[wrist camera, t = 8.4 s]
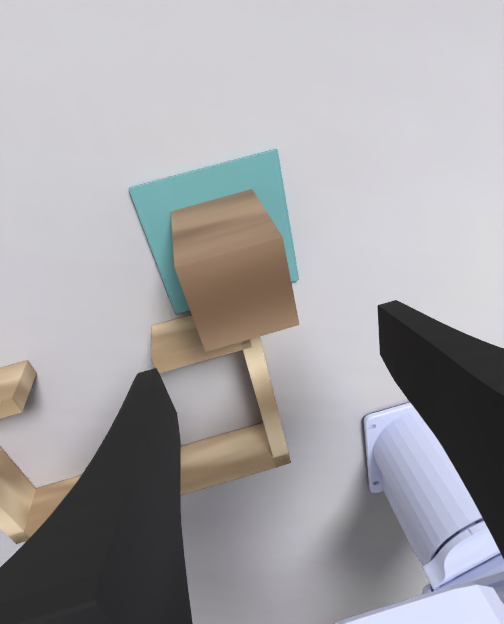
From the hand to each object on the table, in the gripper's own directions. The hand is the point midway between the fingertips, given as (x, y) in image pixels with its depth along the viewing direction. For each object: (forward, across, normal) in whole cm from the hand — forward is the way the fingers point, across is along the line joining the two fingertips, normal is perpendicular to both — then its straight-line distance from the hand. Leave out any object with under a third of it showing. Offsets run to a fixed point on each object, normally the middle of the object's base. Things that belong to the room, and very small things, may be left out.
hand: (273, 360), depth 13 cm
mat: (+10, 0, 0) cm, 10 cm away
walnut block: (+10, 0, 0) cm, 10 cm away
